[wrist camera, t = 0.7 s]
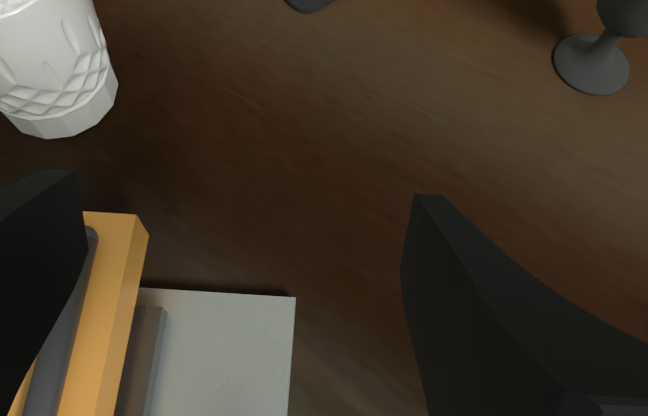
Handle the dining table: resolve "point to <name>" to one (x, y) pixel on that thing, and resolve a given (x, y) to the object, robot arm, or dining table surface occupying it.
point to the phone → (307, 5)
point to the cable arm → (90, 326)
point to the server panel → (207, 355)
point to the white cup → (53, 67)
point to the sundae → (602, 48)
